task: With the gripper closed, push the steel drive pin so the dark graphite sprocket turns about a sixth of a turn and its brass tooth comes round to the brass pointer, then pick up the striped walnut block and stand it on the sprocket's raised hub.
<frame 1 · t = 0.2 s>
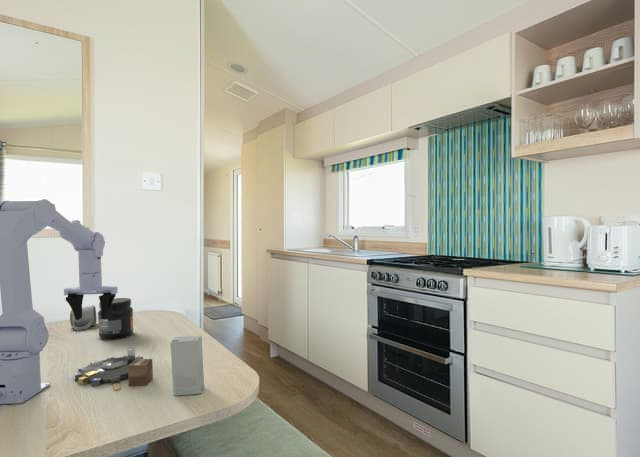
hand: (91, 318, 116), 10 cm above the table, tool pointing down, fingers open, 7 cm apart
skincare box: (188, 392, 88), on the table
sprocket: (112, 363, 100), point 2 cm above the table, hinge at 0.0°
walnut block: (141, 382, 94), on the table
pointer: (116, 387, 91), on the table
supplement container: (116, 336, 133), on the table
ceramic mug: (84, 327, 145), on the table
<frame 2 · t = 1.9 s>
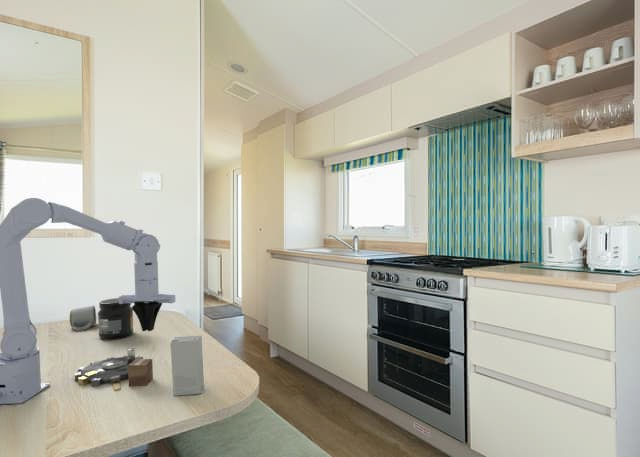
hand: (148, 330, 105), 9 cm above the table, tool pointing down, fingers closed
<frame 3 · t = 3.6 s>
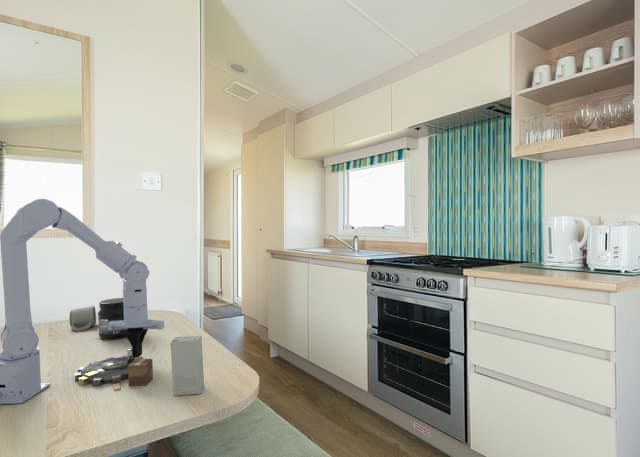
hand: (137, 356, 105), 2 cm above the table, tool pointing down, fingers closed, pressing on sprocket
sprocket: (112, 363, 100), point 2 cm above the table, hinge at 1.5°, touching gripper
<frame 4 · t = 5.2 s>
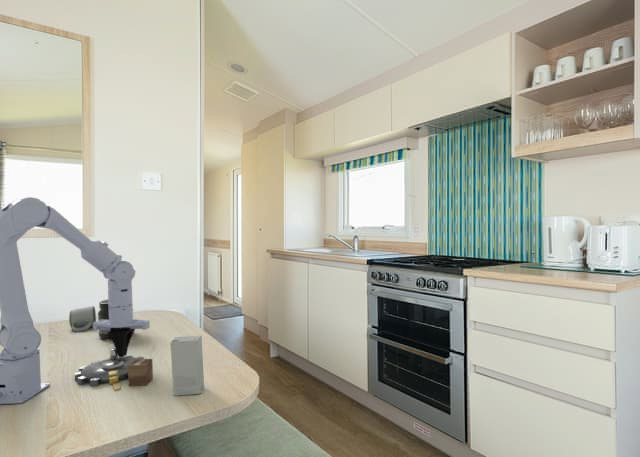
hand: (122, 355, 105), 3 cm above the table, tool pointing down, fingers closed
sprocket: (112, 363, 100), point 2 cm above the table, hinge at 57.3°, touching gripper
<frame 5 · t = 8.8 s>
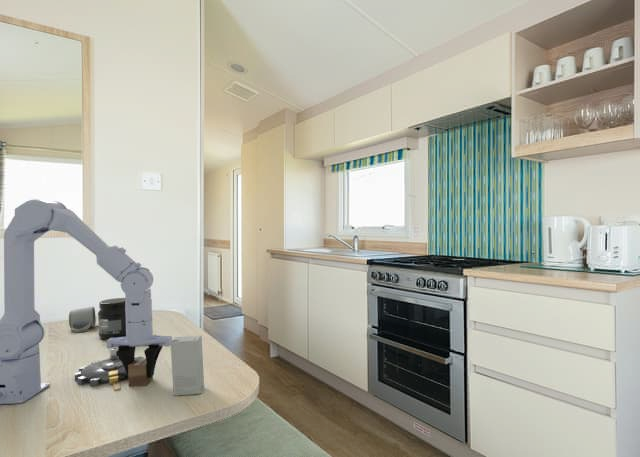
hand: (140, 376, 94), 1 cm above the table, tool pointing down, fingers closed on walnut block, 4 cm apart
sprocket: (112, 363, 100), point 2 cm above the table, hinge at 57.3°
walnut block: (141, 382, 94), on the table, touching gripper
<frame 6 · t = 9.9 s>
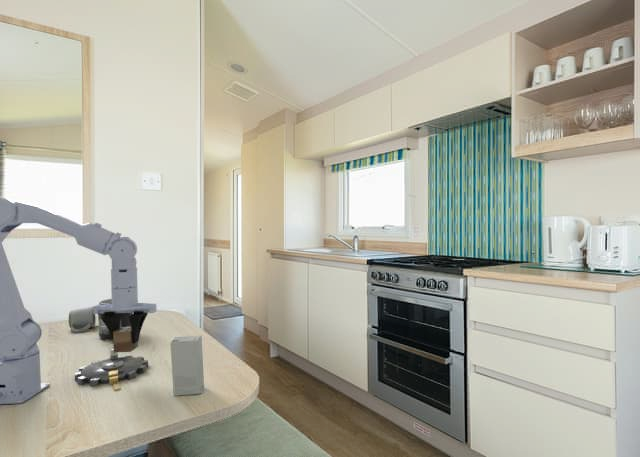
hand: (125, 342, 96), 9 cm above the table, tool pointing down, fingers closed on walnut block, 4 cm apart
walnut block: (126, 349, 96), point 7 cm above the table, touching gripper
when the fingers open (5 cm above the table, at t = 11.4 s): walnut block stays where it is, resting on sprocket.
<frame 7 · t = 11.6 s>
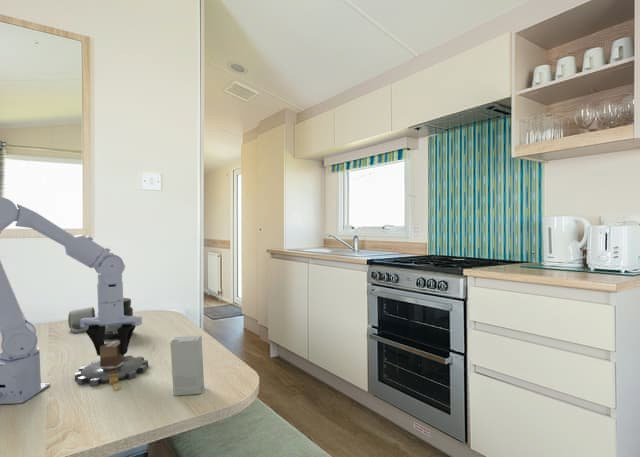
hand: (112, 354, 100), 5 cm above the table, tool pointing down, fingers open, 5 cm apart
sprocket: (112, 363, 100), point 2 cm above the table, hinge at 57.3°, touching walnut block
walnut block: (112, 363, 100), point 2 cm above the table, touching sprocket
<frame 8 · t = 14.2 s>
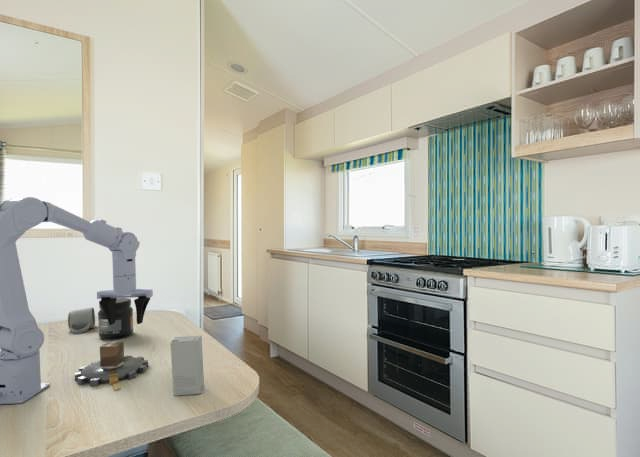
hand: (126, 323, 110), 10 cm above the table, tool pointing down, fingers open, 7 cm apart
at the end: sprocket at +57° (first picture: +0°); walnut block 0.0 cm off-centre on the sprocket, point 2.3 cm above the sprocket's base; walnut block tilted 0° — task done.
